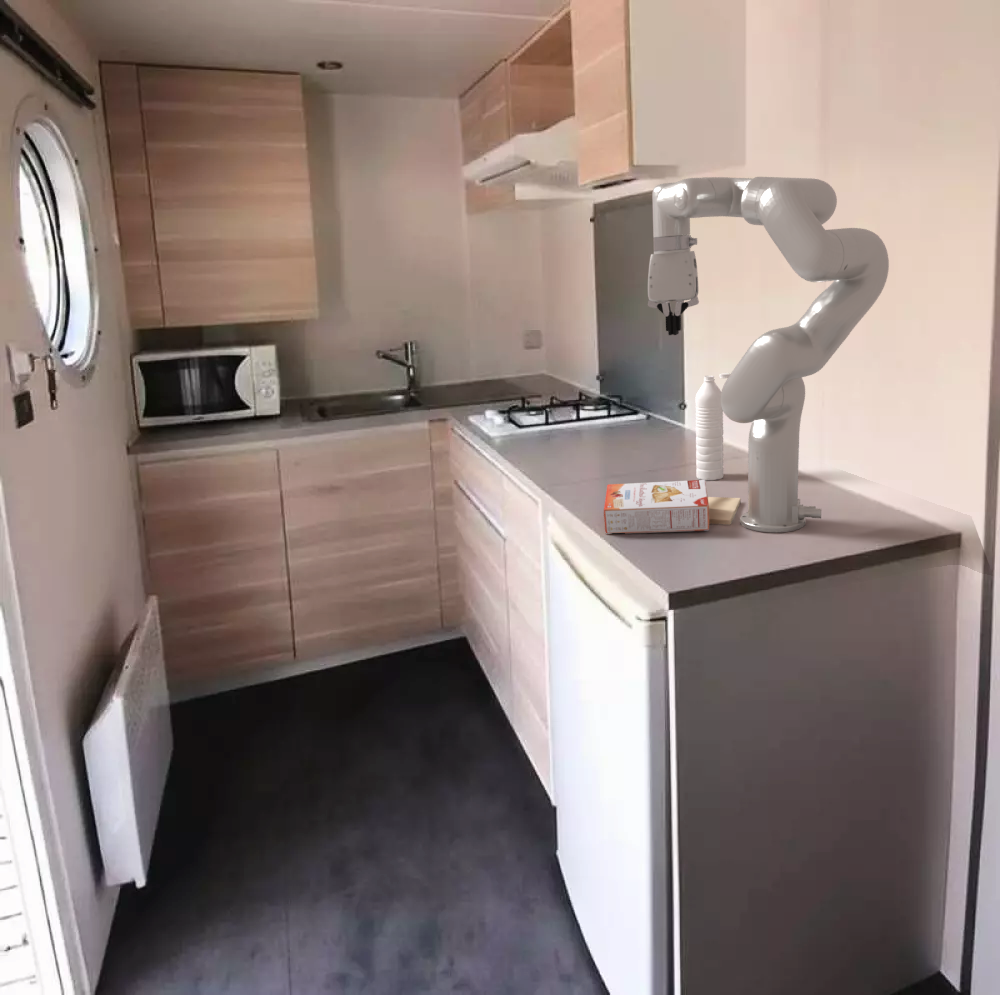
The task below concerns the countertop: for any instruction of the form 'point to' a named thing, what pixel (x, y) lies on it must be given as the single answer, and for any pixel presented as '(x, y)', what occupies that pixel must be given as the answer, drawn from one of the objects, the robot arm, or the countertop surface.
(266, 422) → the countertop surface
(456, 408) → the countertop surface
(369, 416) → the countertop surface
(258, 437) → the countertop surface
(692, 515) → the cracker box
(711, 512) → the cutting board
